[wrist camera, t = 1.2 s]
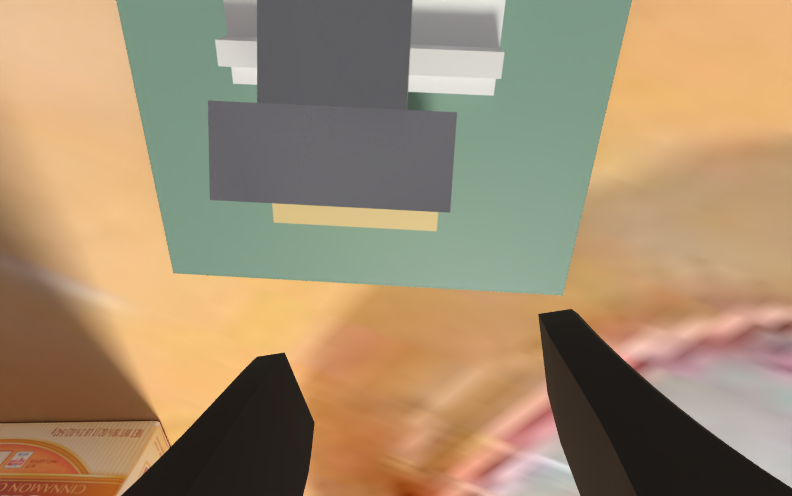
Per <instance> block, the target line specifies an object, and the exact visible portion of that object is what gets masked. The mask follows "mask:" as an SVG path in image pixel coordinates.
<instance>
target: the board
mask: <svg viewBox="0 0 792 496" xmlns="http://www.w3.org/2000/svg"><path fill="white" fill-rule="evenodd" d="M116 1H117V6H118V11H119V15H120V20H121V25H122V30H123V34H124V39H125V44H126V49H127V54H128V58H129V63H130V68H131V73H132V77H133V82H134V87H135V92H136V97H137V101H138V106H139V111H140V116H141V120H142V125H143V130H144V135H145V139H146V144H147V149H148V154H149V159H150V163H151V168H152V173H153V178H154V182H155V187H156V192H157V197H158V202H159V206H160V211H161V216H162V221H163V225H164V230H165V235H166V240H167V245H168V249H169V254H170V259H171V264H172V268H173V273H179V274H197V275H214V276H232V277H249V278H267V279H284V280H302V281H320V282H337V283H355V284H372V285H390V286H407V287H425V288H442V289H460V290H477V291H495V292H512V293H530V294H547V295H563V292H564V288H565V284H566V279H567V275H568V271H569V266H570V262H571V258H572V254H573V249H574V245H575V241H576V237H577V232H578V228H579V224H580V220H581V215H582V211H583V207H584V202H585V198H586V194H587V190H588V185H589V181H590V177H591V173H592V168H593V164H594V160H595V156H596V151H597V147H598V143H599V138H600V134H601V130H602V126H603V121H604V117H605V113H606V109H607V104H608V100H609V96H610V91H611V87H612V83H613V79H614V74H615V70H616V66H617V62H618V57H619V53H620V49H621V45H622V40H623V36H624V32H625V27H626V23H627V19H628V15H629V10H630V6H631V2H632V0H413V12H412V32H411V51H410V71H409V90H408V109H407V110H421V111H442V112H457V121H456V136H455V150H454V165H453V179H452V194H451V208H450V213H446V212H427V211H408V210H389V209H370V208H351V207H332V206H313V205H294V204H275V203H256V202H237V201H218V200H210V187H209V135H208V101H229V102H250V103H257V0H116Z"/></svg>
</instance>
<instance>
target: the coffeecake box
mask: <svg viewBox="0 0 792 496" xmlns="http://www.w3.org/2000/svg"><path fill="white" fill-rule="evenodd" d="M169 448H170V446H169V444H168V441H167V439H166V437H165V434H164V432H163V430H162V427H161V424H160V422H158V421H121V422H61V423H0V496H121V495H122V494H123V493H124V492H125V491H126V490H127V489H128V488H129V487H131V486H132V485H133V484H134V483H135V482H136V481H137V480H138V479H139V478H140V477H141V476H142V475H143V474H144V473H145V472H146V471H147V470H148V469H149V468H150V467H151V466H152V465H153V464H154V463H155V462H156V461H157V460H158V459H159V458H160V457H161V456H162V455H163V454H164V453H165V452H166V451H167V450H168V449H169Z"/></svg>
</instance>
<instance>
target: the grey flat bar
mask: <svg viewBox="0 0 792 496" xmlns="http://www.w3.org/2000/svg"><path fill="white" fill-rule="evenodd" d="M412 12H413V0H257V103H250V102H229V101H208V135H209V187H210V200H218V201H237V202H256V203H275V204H294V205H313V206H332V207H351V208H370V209H389V210H408V211H427V212H446V213H450V208H451V194H452V179H453V165H454V150H455V136H456V121H457V112H442V111H421V110H407V109H408V90H409V71H410V51H411V32H412Z"/></svg>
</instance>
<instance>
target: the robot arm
mask: <svg viewBox="0 0 792 496" xmlns="http://www.w3.org/2000/svg"><path fill="white" fill-rule="evenodd" d="M538 315H539V323H540V332H541V340H542V349H543V357H544V366H545V375H546V383H547V392H548V396H549V400H550V404H551V408H552V412H553V416H554V420H555V423H556V427H557V431H558V435H559V438H560V442H561V445H562V448H563V450H564V453H565V456H566V458H567V461H568V464H569V466H570V469H571V472H572V474H573V477H574V480H575V482H576V485H577V488H578V490H579V493H580V496H792V488H791V487H789V486H787V485H786V484H784V483H783V482H781V481H780V480H778V479H777V478H775V477H774V476H772V475H771V474H769V473H768V472H766V471H765V470H763V469H762V468H760V467H759V466H757V465H756V464H754V463H753V462H752V461H750V460H749V459H747V458H746V457H744V456H743V455H741V454H740V453H739V452H737V451H736V450H734V449H733V448H731V447H730V446H729V445H727V444H726V443H724V442H723V441H722V440H720V439H719V438H718V437H716V436H715V435H714V434H712V433H711V432H710V431H708V430H707V429H706V428H704V427H703V426H702V425H700V424H699V423H698V422H696V421H695V420H694V419H693V418H691V417H690V416H689V415H688V414H686V413H685V412H684V411H683V410H681V409H680V408H679V407H678V406H676V405H675V404H674V403H673V402H671V401H670V400H669V399H668V398H667V397H665V396H664V395H663V394H662V393H661V392H659V391H658V390H657V389H656V388H655V387H653V386H652V385H651V384H650V383H649V382H648V381H647V380H646V379H644V378H643V377H642V376H641V375H640V374H639V373H638V372H636V371H635V370H634V369H633V368H632V367H631V366H630V365H629V364H627V363H626V362H625V361H624V360H623V359H622V358H621V357H620V356H619V355H618V354H617V353H616V352H615V351H614V350H613V349H612V348H611V347H610V346H609V345H607V344H606V343H605V342H604V341H603V340H602V339H601V338H600V337H599V336H598V335H597V334H596V333H595V332H594V330H593V329H592V328H591V327H590V326H589V325H588V324H587V323H586V322H585V321H584V320H583V319H582V318H581V317H580V316H579V314H578V313H576V312H575V311H573V310H572V309H569V310H562V311H556V312H549V313H542V314H538ZM313 431H314V421H313V418H312V416H311V414H310V411H309V409H308V407H307V404H306V402H305V400H304V397H303V395H302V392H301V390H300V388H299V385H298V383H297V381H296V378H295V376H294V374H293V371H292V369H291V367H290V364H289V362H288V360H287V357H286V355H285V353H279V354H273V355H266V356H259V357H257V358H255V359H254V360H253V361H252V362H251V363H250V364H249V365H248V366H247V367H246V368H245V369H244V370H243V371H242V372H241V373H240V375H239V376H238V377H237V378H236V379H235V380H234V381H233V382H232V383H231V384H230V385H229V386H228V387H227V388H226V389H225V391H224V392H223V393H222V394H221V395H220V396H219V397H218V398H217V399H216V400H215V401H214V402H213V403H212V405H211V406H210V407H209V408H208V409H207V410H206V411H205V412H204V413H203V414H202V415H201V416H200V417H199V418H198V419H197V420H196V422H195V423H194V424H193V425H192V426H191V427H190V428H189V429H188V430H187V431H186V432H185V433H184V434H183V435H182V436H181V437H180V438H179V439H178V440H177V441H176V442H175V443H174V444H173V445H172V446H171V447H170V448H169V449H168V450H167V451H166V452H165V453H164V454H163V455H162V456H161V457H160V458H159V459H158V460H157V461H156V462H155V463H154V464H153V465H152V466H151V467H150V468H149V469H148V470H147V471H146V472H145V473H144V474H143V475H142V476H141V477H140V478H139V479H138V480H137V481H136V482H135V483H134V484H133V485H132V486H131V487H129V488H128V489H127V490H126V491H125V492H124V493H123V494H122V495H121V496H303V493H304V489H305V485H306V480H307V476H308V472H309V465H310V458H311V450H312V441H313Z"/></svg>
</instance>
